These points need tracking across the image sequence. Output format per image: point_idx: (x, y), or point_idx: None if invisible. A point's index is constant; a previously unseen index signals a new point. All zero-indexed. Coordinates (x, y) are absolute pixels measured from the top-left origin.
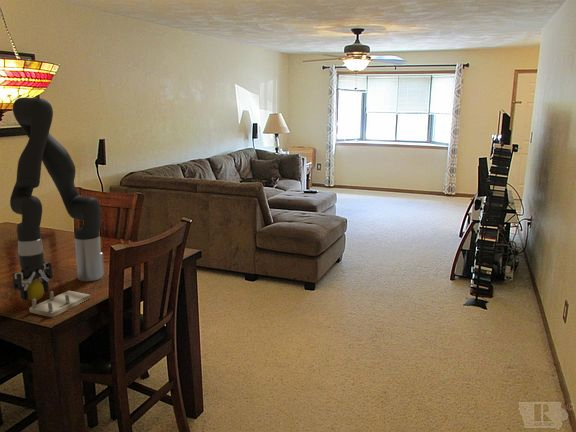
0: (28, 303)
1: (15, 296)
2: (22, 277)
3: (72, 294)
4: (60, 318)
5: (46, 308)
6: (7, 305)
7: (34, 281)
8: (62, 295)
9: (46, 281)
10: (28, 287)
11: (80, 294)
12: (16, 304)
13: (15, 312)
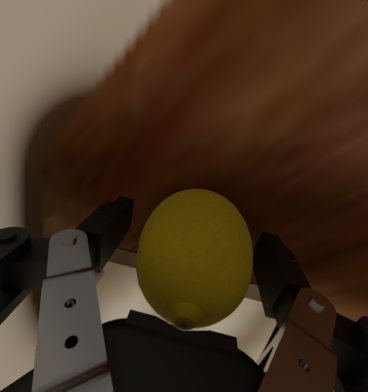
0: (169, 187)
1: (261, 16)
2: (37, 338)
3: (254, 336)
4: None
5: (109, 306)
6: (115, 89)
7: (177, 321)
8: (240, 311)
9: (273, 328)
10: (137, 260)
11: (256, 356)
12: (142, 133)
13: (72, 191)
